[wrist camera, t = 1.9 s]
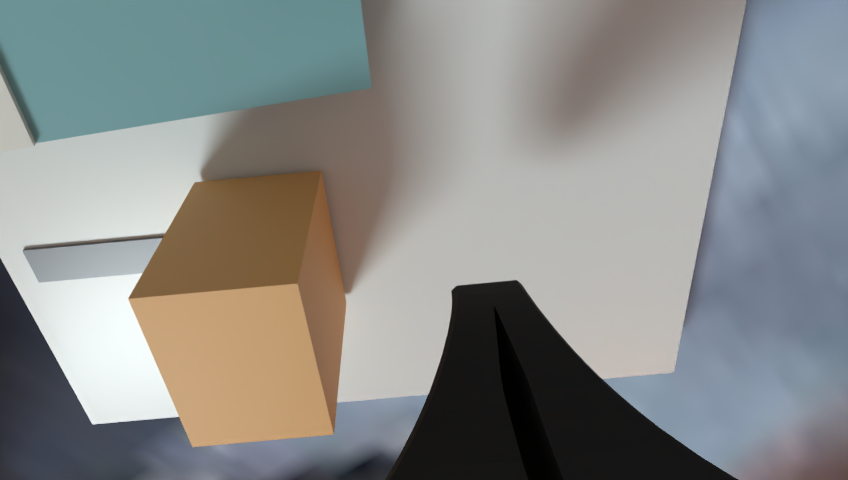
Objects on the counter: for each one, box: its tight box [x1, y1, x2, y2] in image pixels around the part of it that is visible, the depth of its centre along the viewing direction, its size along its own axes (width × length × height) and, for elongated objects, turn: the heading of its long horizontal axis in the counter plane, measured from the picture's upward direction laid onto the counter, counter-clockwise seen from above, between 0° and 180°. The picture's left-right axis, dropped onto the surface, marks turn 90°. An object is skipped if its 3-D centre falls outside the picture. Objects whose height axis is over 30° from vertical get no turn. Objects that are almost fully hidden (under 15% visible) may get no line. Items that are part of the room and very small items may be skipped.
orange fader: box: [128, 171, 346, 447], centre depth 14 cm, size 3×4×4 cm
